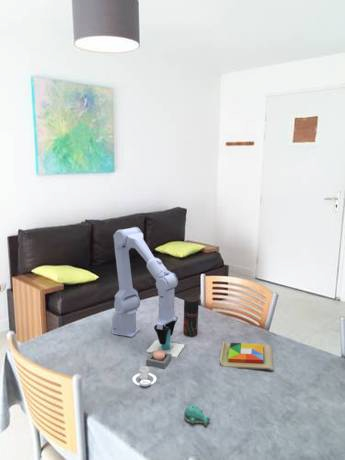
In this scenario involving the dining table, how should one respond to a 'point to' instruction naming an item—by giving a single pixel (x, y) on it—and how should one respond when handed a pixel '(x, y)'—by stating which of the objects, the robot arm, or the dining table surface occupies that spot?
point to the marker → (167, 345)
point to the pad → (173, 350)
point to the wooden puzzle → (246, 356)
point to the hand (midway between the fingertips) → (166, 339)
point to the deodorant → (190, 316)
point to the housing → (159, 364)
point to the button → (159, 355)
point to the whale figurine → (195, 415)
